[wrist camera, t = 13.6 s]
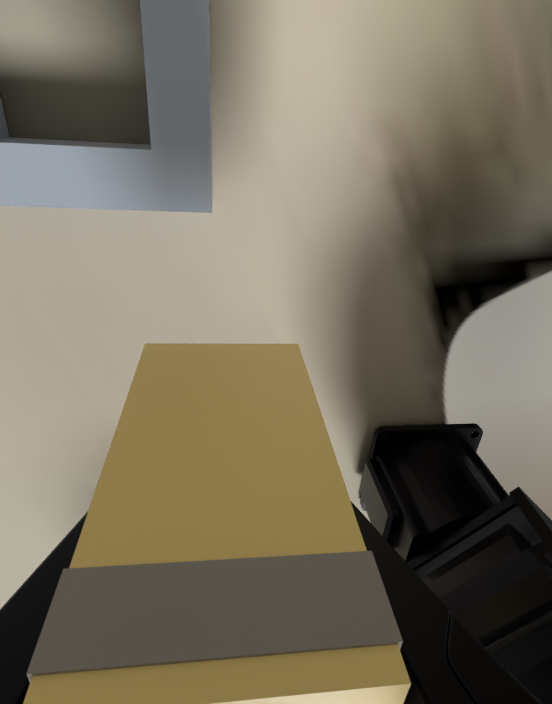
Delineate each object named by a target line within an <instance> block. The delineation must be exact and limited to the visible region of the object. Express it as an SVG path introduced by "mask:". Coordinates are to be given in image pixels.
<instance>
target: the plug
mask: <svg viewBox="0 0 552 704" xmlns="http://www.w3.org/2000/svg"><path fill="white" fill-rule="evenodd" d="M402 643H403V640H402V637H401V634H400V631H399V628H398V626H397V623H396V620H395V617H394V614H393V611H392V608H391V605H390V602H389V599H388V596H387V594H386V591H385V588H384V585H383V582H382V579H381V576H380V573H379V570H378V567H377V565H376V562H375V559H374V556H373V553H372V551H367V550H366V547H365V544H364V541H363V538H362V535H361V532H360V529H359V526H358V523H357V520H356V517H355V514H354V511H353V508H352V505H351V501H350V498H349V495H348V492H347V489H346V486H345V483H344V480H343V477H342V474H341V471H340V468H339V465H338V462H337V459H336V456H335V453H334V450H333V447H332V444H331V441H330V438H329V435H328V432H327V429H326V426H325V423H324V420H323V417H322V414H321V411H320V408H319V405H318V402H317V399H316V396H315V393H314V390H313V387H312V384H311V381H310V378H309V375H308V372H307V369H306V366H305V363H304V360H303V357H302V354H301V351H300V348H299V345H298V344H145V346H144V349H143V352H142V355H141V357H140V360H139V363H138V366H137V369H136V372H135V375H134V378H133V381H132V384H131V387H130V390H129V393H128V396H127V399H126V402H125V405H124V408H123V411H122V413H121V416H120V419H119V422H118V425H117V428H116V431H115V434H114V437H113V440H112V443H111V446H110V449H109V452H108V455H107V458H106V461H105V464H104V467H103V469H102V472H101V475H100V478H99V481H98V484H97V487H96V490H95V493H94V496H93V499H92V502H91V505H90V508H89V511H88V514H87V517H86V520H85V523H84V526H83V528H82V531H81V534H80V537H79V540H78V543H77V546H76V549H75V552H74V555H73V558H72V561H71V564H70V567H69V569H63V571H62V574H61V577H60V580H59V582H58V585H57V588H56V591H55V594H54V597H53V600H52V602H51V605H50V608H49V611H48V614H47V617H46V619H45V622H44V625H43V628H42V631H41V634H40V637H39V639H38V642H37V645H36V648H35V651H34V654H33V656H32V659H31V662H30V665H29V668H28V671H27V674H26V675H27V677H28V679H29V682H30V685H29V688H28V691H27V694H26V696H25V699H24V702H23V704H403V703H404V701H405V698H406V695H407V693H408V690H409V688H410V685H411V682H410V679H409V676H408V673H407V670H406V667H405V664H404V661H403V658H402V655H401V652H400V649H401V646H402Z"/></svg>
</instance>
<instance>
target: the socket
mask: <svg viewBox="0 0 552 704" xmlns="http://www.w3.org/2000/svg"><path fill="white" fill-rule="evenodd" d="M140 11H141V24H142V37H143V50H144V63H145V76H146V89H147V102H148V115H149V128H150V141H151V144H132V143H112V142H93V141H73V140H53V139H34V138H14V137H9V133H8V128H7V124H6V119H5V114H4V110H3V105H2V101H1V96H0V206H17V207H49V208H80V209H112V210H143V211H174V212H206V213H212V139H211V74H210V8H209V0H140Z"/></svg>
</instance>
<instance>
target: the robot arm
mask: <svg viewBox="0 0 552 704" xmlns="http://www.w3.org/2000/svg"><path fill="white" fill-rule="evenodd" d="M472 432H473V433H472ZM385 434H386V435H385ZM482 434H483V431H482V429H481V428H480V427H479V426H478V425H477V424H445V425H415V426H385V427H380V428H378V429H377V430H376V431H375V433H374V437H373V442H372V447H371V452H370V456H369V459H367V461H366V462H365V466H364V471H363V475H362V480H361V485H360V490H359V491H360V495H361V499H360V504H361V507H362V509H363V510H365V511H367V513H368V516H369V519H370V521H371V523H370V522H369V521H368V520H367V518H366V517H365V516H364V515H363V514H362V513H361V512H360V511H359V510H358V508H357V507H356V506H355V505H354V504H353V503H352V502H351V505H352V508H353V511H354V514H355V517H356V520H357V523H358V526H359V529H360V532H361V535H362V538H363V541H364V544H365V547H366V550H367V551H372V553H373V556H374V559H375V562H376V565H377V567H378V570H379V573H380V576H381V579H382V582H383V585H384V588H385V591H386V594H387V596H388V599H389V602H390V605H391V608H392V611H393V614H394V617H395V620H396V623H397V626H398V628H399V631H400V634H401V637H402V640H403V643H402V646H401V649H400V652H401V655H402V658H403V661H404V664H405V667H406V670H407V673H408V676H409V679H410V682H411V685H410V688H409V690H408V693H407V695H406V698H405V701H404V703H403V704H552V520H551V519H550V518H549V517H548V516H547V515H546V514H545V513H544V512H543V511H542V510H541V509H540V508H539V507H538V506H537V505H536V504H535V503H534V502H533V501H532V500H531V499H530V498H529V497H528V496H527V495H526V494H525V493H524V492H523V490H522V489H521V488H520V487H517V488H516V489H514V490H513V491H511V492H510V493H509V494H510V495H508V494H507V493H506V491H505V490H504V489H503V487H502V486H501V485H500V483H499V482H498V481H497V479H496V478H495V477H494V475H493V474H492V473H491V471H490V470H489V469H488V467H487V466H486V465H485V464H484V462H483V461H482V460H481V458H480V457H479V456H478V454H477V453H476V451H477V448H478V445H479V443H480V440H481V437H482ZM383 435H385V436H383ZM381 436H383V437H381ZM87 514H88V512H87V513H86V514H85V515H84V516H83V518H82V519H81V520H80V521H79V522H78V523H77V524H76V525H75V526H74V528H73V529H72V530H71V531H70V532H69V533H68V534H67V535H66V537H65V538H64V539H63V540H62V541H61V542H60V543H59V544H58V546H57V547H56V548H55V549H54V550H53V551H52V552H51V553H50V554H49V556H48V557H47V558H46V559H45V560H44V561H43V562H42V563H41V565H40V566H39V567H38V568H37V569H36V570H35V571H34V572H33V573H32V575H31V576H30V577H29V578H28V579H27V580H26V581H25V582H24V584H23V585H22V586H21V587H20V588H19V589H18V590H17V591H16V592H15V594H14V595H13V596H12V597H11V598H10V599H9V600H8V601H7V603H6V604H5V605H4V606H3V607H2V608H1V609H0V704H23V702H24V699H25V696H26V694H27V691H28V688H29V685H30V682H29V679H28V677H27V675H26V674H27V671H28V668H29V665H30V662H31V659H32V656H33V654H34V651H35V648H36V645H37V642H38V639H39V637H40V634H41V631H42V628H43V625H44V622H45V619H46V617H47V614H48V611H49V608H50V605H51V602H52V600H53V597H54V594H55V591H56V588H57V585H58V582H59V580H60V577H61V574H62V571H63V569H69V567H70V564H71V561H72V558H73V555H74V552H75V549H76V546H77V543H78V540H79V537H80V534H81V531H82V528H83V526H84V523H85V520H86V517H87Z"/></svg>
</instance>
